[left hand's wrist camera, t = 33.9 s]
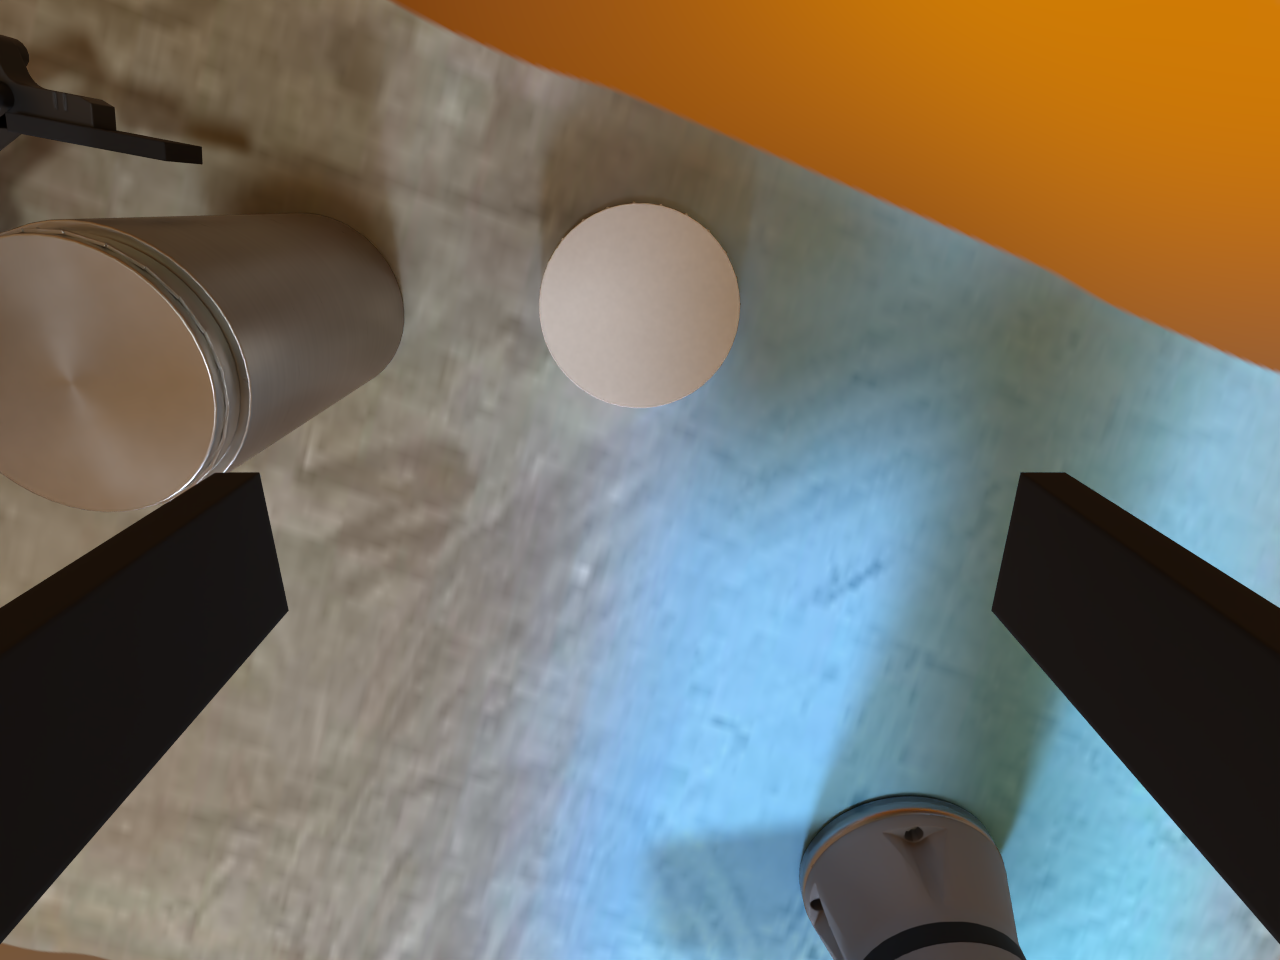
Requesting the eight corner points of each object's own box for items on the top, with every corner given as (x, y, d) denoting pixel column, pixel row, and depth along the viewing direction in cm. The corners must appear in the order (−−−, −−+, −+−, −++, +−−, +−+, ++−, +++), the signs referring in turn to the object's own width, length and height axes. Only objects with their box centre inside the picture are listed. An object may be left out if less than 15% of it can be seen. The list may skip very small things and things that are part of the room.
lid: (545, 194, 37) (540, 193, 36) (748, 210, 38) (753, 211, 36) (539, 393, 41) (535, 401, 40) (724, 407, 42) (727, 415, 40)
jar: (335, 178, 37) (76, 156, 20) (437, 343, 40) (289, 445, 23) (190, 267, 39) (-162, 316, 22) (300, 418, 42) (67, 565, 25)
